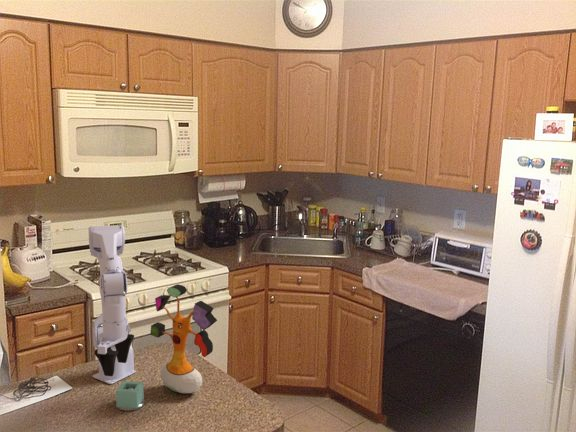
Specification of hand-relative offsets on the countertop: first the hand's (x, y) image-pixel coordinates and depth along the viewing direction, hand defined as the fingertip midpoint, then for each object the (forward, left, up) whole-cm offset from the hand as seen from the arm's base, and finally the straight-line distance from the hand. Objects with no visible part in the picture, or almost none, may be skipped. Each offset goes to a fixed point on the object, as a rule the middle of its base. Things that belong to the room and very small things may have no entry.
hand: (115, 368), depth 143 cm
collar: (-2, +3, -9) cm, 10 cm away
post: (-2, +3, -10) cm, 11 cm away
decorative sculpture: (-15, +10, -10) cm, 20 cm away
